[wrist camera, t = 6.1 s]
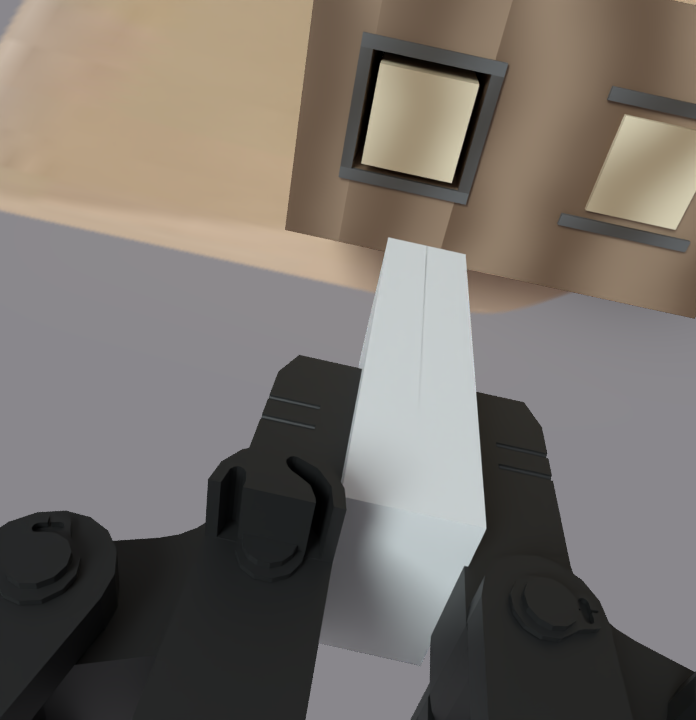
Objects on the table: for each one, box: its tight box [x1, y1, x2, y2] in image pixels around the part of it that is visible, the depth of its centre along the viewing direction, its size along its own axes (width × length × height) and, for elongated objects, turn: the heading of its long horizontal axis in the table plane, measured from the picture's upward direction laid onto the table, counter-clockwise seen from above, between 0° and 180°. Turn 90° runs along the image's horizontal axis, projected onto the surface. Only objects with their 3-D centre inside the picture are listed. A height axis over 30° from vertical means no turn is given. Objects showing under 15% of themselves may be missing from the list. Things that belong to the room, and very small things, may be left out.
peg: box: [361, 52, 479, 183], centre depth 28 cm, size 4×4×8 cm
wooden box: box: [285, 0, 696, 318], centre depth 29 cm, size 20×12×9 cm, turn 80°
